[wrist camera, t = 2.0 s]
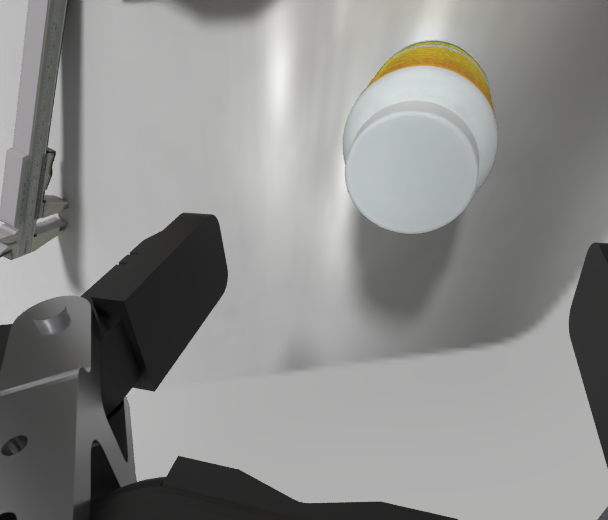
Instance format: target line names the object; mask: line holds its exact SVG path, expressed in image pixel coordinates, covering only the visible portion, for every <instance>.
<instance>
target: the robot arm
mask: <svg viewBox="0 0 608 520" xmlns="http://www.w3.org/2000/svg"><path fill="white" fill-rule="evenodd" d="M227 279H228V270H227V264H226V259H225V253H224V248H223V242H222V237H221V231H220V226H219V222H218V220H217V218H216V217H215V216H214V215H211V214H197V213H182V214H180V215H179V216H178V217H177V218H176V219H175V220H174V221H173V222H172V223H171V224H169V225H168V226H167V227H166V228H165V229H164V230H163V231H161V232H159V233H157V234H155V235H153V236H151V237H149V238H147V239H145V240H143V241H142V242H141V243H140V244H139V245H138V246H137V247H136V248H134V249H133V250H132V251H131V252H130V255H127V256H125V257H124V258H123V259H122V260H121V261H120V262H119V265H115V266H114V267H113V268H112V269H111V270H110V271H109V272H108V273H106V274H105V275H104V276H103V277H102V278H101V279H100V280H99V281H97V282H96V283H95V284H94V285H93V286H92V287H91V288H90V289H89V290H87V291H86V292H85V293H84V294H83V295H82V296H81V297H79V296H61V297H56V298H52V299H49V300H46V301H43V302H40V303H38V304H36V305H34V306H32V307H31V308H29V309H27V310H26V311H24V312H23V313H22V314H21V315H20V316H18V318H17V319H16V320H15V321H14V323H13V324H8V325H0V520H458V519H454V518H450V517H446V516H441V515H437V514H432V513H428V512H424V511H419V510H415V509H410V508H406V507H401V506H397V505H393V504H389V503H384V502H351V503H350V502H348V503H347V502H346V503H302V502H298V501H296V500H294V499H292V498H290V497H288V496H286V495H284V494H283V493H281V492H279V491H277V490H275V489H273V488H272V487H270V486H268V485H266V484H264V483H262V482H261V481H258V480H257V479H255V478H253V477H251V476H250V475H248V474H246V473H244V472H242V471H240V470H238V469H234V468H229V467H224V466H220V465H216V464H212V463H207V462H202V461H198V460H194V459H189V458H185V457H180V456H178V457H177V459H176V461H175V463H174V464H173V466H172V468H171V470H170V471H169V473H168V475H167V477H160V478H154V479H147V480H143V481H139V482H137V481H136V474H135V463H134V452H133V441H132V429H131V419H130V407H129V403H128V400H127V397H126V395H127V394H128V392H129V391H130V390H131V388H132V387H133V388H139V389H144V390H149V391H155V390H156V389H157V387H158V386H159V384H160V383H161V382H162V380H163V379H164V377H165V376H166V375H167V373H168V372H169V370H170V369H171V367H172V366H173V365H174V363H175V362H176V360H177V359H178V357H179V356H180V355H181V353H182V352H183V350H184V349H185V348H186V346H187V345H188V343H189V342H190V340H191V339H192V338H193V336H194V335H195V333H196V332H197V331H198V329H199V328H200V326H201V325H202V323H203V322H204V321H205V319H206V318H207V316H208V315H209V313H210V312H211V311H212V309H213V308H214V306H215V305H216V304H217V302H218V301H219V299H220V298H221V296H222V295H223V293H224V291H225V289H226V285H227ZM569 333H570V338H571V342H572V345H573V349H574V352H575V356H576V359H577V363H578V366H579V370H580V373H581V377H582V380H583V384H584V387H585V391H586V394H587V397H588V401H589V404H590V408H591V411H592V415H593V418H594V422H595V425H596V429H597V432H598V436H599V439H600V443H601V446H602V449H603V453H604V457H605V460H606V463H607V467H608V243H593V244H592V245H591V246H590V248H589V249H588V252H587V255H586V258H585V261H584V265H583V268H582V271H581V275H580V278H579V282H578V285H577V288H576V292H575V295H574V298H573V302H572V305H571V309H570V316H569ZM598 520H608V507H607V508H606V509H605V511H604V512H603V513H602V515H601V516H600V517H599V518H598Z"/></svg>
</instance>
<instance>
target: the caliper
mask: <svg viewBox="0 0 608 520" xmlns="http://www.w3.org/2000/svg"><path fill="white" fill-rule="evenodd" d="M67 7H68V0H29V3H28V12H27V21H26V31H25V40H24V49H23V59H22V68H21V77H20V87H19V96H18V105H17V115H16V124H15V133H14V143H13V148H10V149H8V150H7V153H6V162H5V171H4V179H3V188H2V197H1V206H0V221H2V222H4V223H5V224H2V226H1V227H0V257H2V256H4V257H6V258H8V259H10V260H13V259H15V258H18V257H20V256H23V255H25V254H28V253H30V252H33V251H35V250H37V249H38V248H39V247H41V246H42V245H44V244H45V243H47V242H48V241H50V240H51V239H53V238H54V237H56V236H57V235H58V234H60V233H61V232H63V231H64V229H65V228H66V226H67V223H66V222H64V221H62V220H60V219H58V218H56V217H54V218H51V219H48V220H46V221H43V222H40V223H37V224H36V221H37V219H39V218H44V217H47V216H49V215H52V214H55V213H58V212H61V211H62V210H63V209H67V208H68V202H67V201H65V200H63V199H61V198H59V197H57V196H54V195H44V194H45V190H46V189H47V187H48V185H49V182H50V179H51V177H52V164H53V161H54V158H55V155H56V151H54V150H52V149H50V148H48V147H47V146H48V139H49V132H50V125H51V118H52V111H53V104H54V97H55V90H56V82H57V75H58V68H59V61H60V54H61V47H62V41H63V34H64V27H65V20H66V13H67Z"/></svg>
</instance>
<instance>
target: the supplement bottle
mask: <svg viewBox="0 0 608 520" xmlns="http://www.w3.org/2000/svg"><path fill="white" fill-rule="evenodd" d="M497 144H498V133H497V124H496V119H495V114H494V110H493V105H492V99H491V94H490V88H489V83H488V80H487V77H486V75H485V72H484V70H483V69H482V67H481V65H480V64H479V63H478V61H477V60H476V59H475V58H474V57H473V56H472V55H471V54H470V53H469V52H468V51H466V50H465V49H463V48H462V47H460V46H458V45H456V44H454V43H451V42H447V41H442V40H426V41H420V42H416V43H413V44H411V45H409V46H407V47H405V48H403V49H401V50H400V51H398V52H397V53H396V54H394V55H393V56H392V57H391V58H390V59H389V60H388V61H387V62H386V63H385V64H384V65H383V67H382V68H381V69H380V70H379V72H378V73H377V74H376V76H375V77H374V78H373V79H372V81H371V82H370V84H369V85H368V86H367V88H366V89H365V90H364V91H363V92H362V93H361V95H360V96H359V98H358V99H357V101H356V102H355V104H354V106H353V107H352V109H351V111H350V114H349V116H348V118H347V121H346V124H345V129H344V134H343V155H344V161H345V165H346V166H345V180H346V185H347V189H348V192H349V195H350V197H351V199H352V201H353V203H354V204H355V206H356V207H357V208H358V210H359V211H360V212H361V213H362V214H363V215H364V216H365V217H366V218H367V219H368V220H369V221H371V222H372V223H374V224H376V225H377V226H379V227H381V228H384V229H386V230H389V231H393V232H397V233H403V234H419V233H426V232H430V231H433V230H436V229H438V228H441V227H443V226H445V225H447V224H448V223H450V222H451V221H453V220H454V219H455V218H456V217H457V216H459V215H460V214H461V213H462V212H463V210H464V209H465V208H466V207H467V205H468V204H469V202H470V200H471V199H472V197H473V194H474V193H475V192H476V191H477V190H478V189H479V188H480V187H481V185H482V184H483V183H484V181H485V180H486V178H487V176H488V175H489V173H490V171H491V169H492V166H493V163H494V160H495V157H496V152H497Z"/></svg>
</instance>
